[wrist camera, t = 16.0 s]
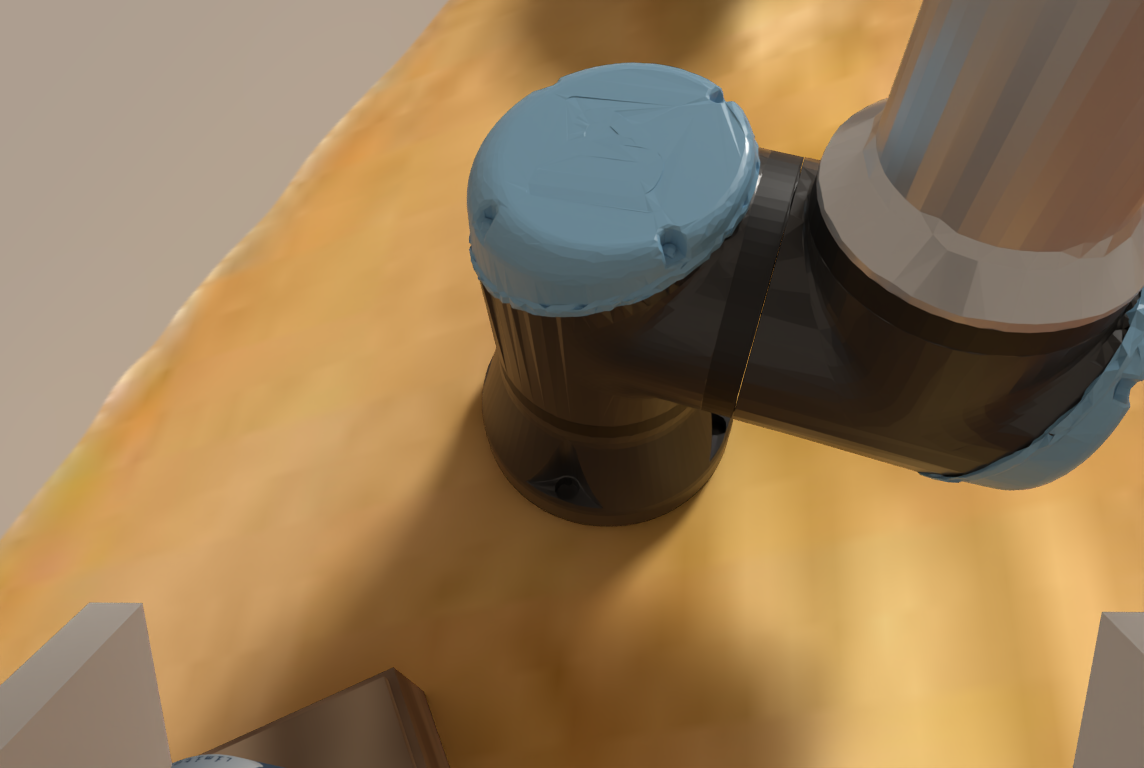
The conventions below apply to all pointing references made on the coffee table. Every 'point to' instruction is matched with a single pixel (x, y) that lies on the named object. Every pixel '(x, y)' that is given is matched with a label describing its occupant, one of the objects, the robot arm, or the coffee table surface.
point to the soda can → (219, 762)
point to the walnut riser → (350, 730)
